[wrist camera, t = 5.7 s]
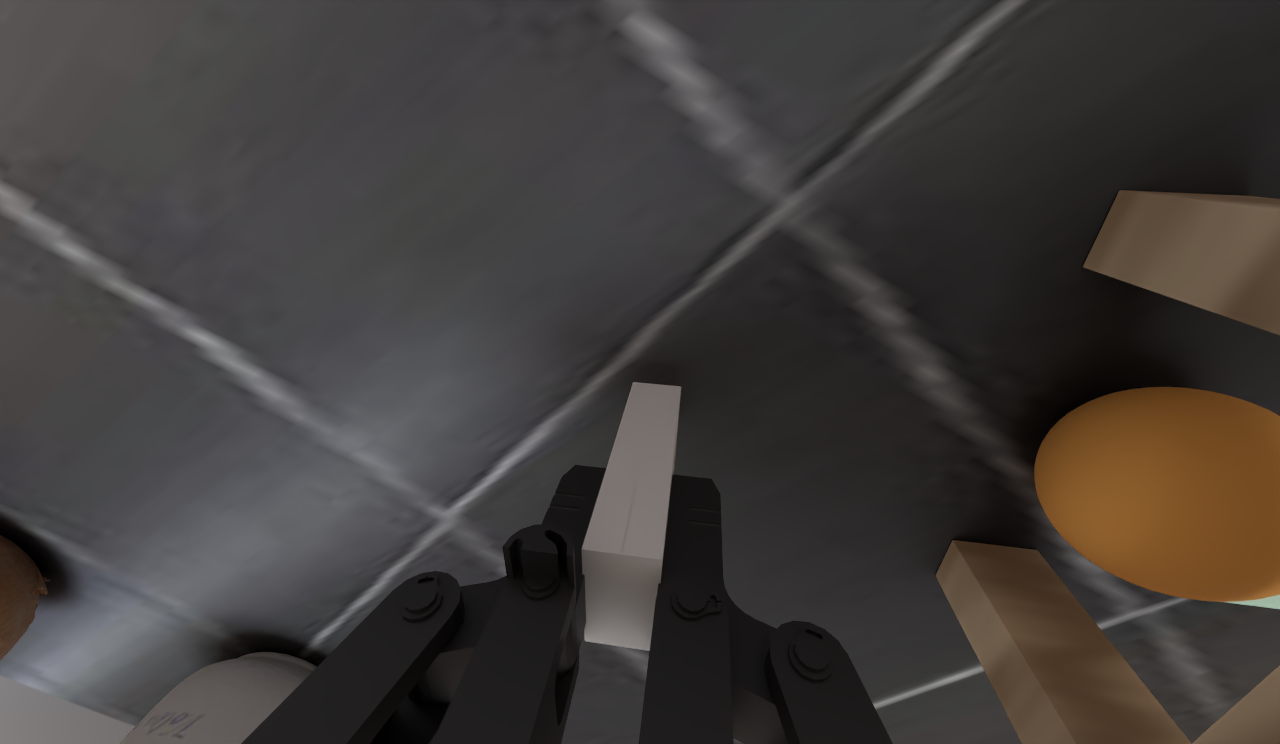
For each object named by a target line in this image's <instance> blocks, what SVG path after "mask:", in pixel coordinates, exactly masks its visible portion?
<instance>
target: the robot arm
mask: <svg viewBox="0 0 1280 744" xmlns="http://www.w3.org/2000/svg"><path fill="white" fill-rule="evenodd" d="M680 396H681V386H671V385H660V384H649V383H638V382H633V384H632V387H631V390H630V394H629V397H628V400H627V403H626V407H625V410H624V413H623V416H622V420H621V423H620V426H619V429H618V433H617V436H616V439H615V442H614V446H613V449H612V452H611V455H610V459H609V462H608V465H607V468H598V467H589V466H580V465H575V466H574V467H572V468H571V469H570V470H569V471H568V472H567V473H566V474H565V475H564V476H563V477H562V478H561V480H560V483H559V485H558V487H557V490H556V492H555V495H554V497H553V499H552V501H551V504H550V508H548V511H547V513H546V515H545V517H544V520H543V522H542V524H541V525H533V526H530V527H527V528H524V529H521V530H520V531H518V532H517V533H515V534H514V535H512V536H511V537H510V538H509V539H508V541H507V542H506V543H505V545H504V546H503V553H504V560H505V566H506V573H507V576H505V577H503V578H501V579H499V580H495V581H491V582H487V583H481V584H474V585H468V586H462V587H460V586H459V584H458V581H457V580H456V579H455V578H454V577H452V576H451V575H449V574H448V573H443V572H437V571H434V572H427V573H421V574H419V575H417V576H414V577H412V578H410V579H407V580H406V581H405V582H403V583H402V584H401V585H399V586H398V587H397V588H396V589H394V590H393V591H392V592H391V593H390V594H389V595H388V596H387V597H386V598H385V599H384V600H383V601H382V602H381V603H380V604H379V605H378V606H377V607H376V608H375V609H374V610H373V611H372V612H371V613H370V614H369V615H368V616H367V617H366V618H365V619H364V620H363V621H362V622H361V623H360V624H359V625H358V626H357V627H356V628H355V629H354V630H353V631H352V632H351V633H350V634H349V636H348V637H347V638H346V639H345V640H344V641H343V642H342V643H341V644H340V645H339V646H338V647H337V648H336V649H335V650H334V651H333V652H332V653H331V654H330V655H329V656H328V657H327V658H326V659H325V660H324V661H323V662H322V663H321V664H320V665H319V666H318V667H317V668H316V669H315V670H314V671H313V672H312V673H311V674H310V675H309V676H308V677H307V678H306V679H305V680H304V681H303V682H302V683H301V684H300V685H299V686H298V687H297V688H296V689H295V690H294V691H293V692H292V693H291V694H290V695H289V696H288V697H287V698H286V699H285V700H284V701H283V702H282V703H281V704H280V705H279V706H278V707H277V708H276V709H275V710H274V711H273V712H272V713H271V714H270V715H269V716H268V717H267V718H266V719H265V720H264V721H263V722H262V723H261V724H260V725H259V726H258V727H257V728H256V729H255V730H254V731H253V732H252V733H251V734H250V735H249V736H248V737H247V738H246V739H245V740H244V741H243V742H242V743H241V744H561V741H562V737H563V733H564V729H565V724H566V720H567V716H568V712H569V708H570V704H571V700H572V695H573V691H574V687H575V683H576V679H577V675H578V670H579V649H580V645H581V641H582V637H583V633H585V641H588V642H594V643H601V644H608V645H614V646H621V647H627V648H634V649H640V650H647V651H650V652H649V661H648V669H647V678H646V686H645V695H644V704H643V712H642V721H641V729H640V738H639V744H733V738H735V739H736V740H738V741H740V742H742V743H743V744H893V743H892V741H891V739H890V737H889V735H888V733H887V731H886V729H885V727H884V725H883V723H882V721H881V719H880V717H879V715H878V713H877V712H876V710H875V708H874V706H873V704H872V702H871V700H870V698H869V696H868V694H867V692H866V690H865V688H864V686H863V684H862V682H861V680H860V678H859V676H858V674H857V672H856V670H855V668H854V666H853V664H852V662H851V660H850V658H849V656H848V654H847V653H846V651H845V650H844V648H843V647H842V646H841V644H840V643H839V641H838V640H837V639H836V638H834V637H833V636H832V635H831V634H830V633H828V632H827V631H826V630H825V629H823V628H821V627H818V626H816V625H814V624H812V623H809V622H802V621H791V622H788V623H785V624H781V625H780V626H779V627H778V628H777V629H776V628H774V627H771V626H769V625H767V624H765V623H763V622H760V621H758V620H756V619H754V618H752V617H751V616H749V615H747V614H746V613H744V612H743V611H742V610H741V609H739V608H738V607H737V606H736V605H735V604H734V602H733V601H732V600H731V599H730V597H729V596H728V593H727V591H726V589H725V587H724V581H723V562H722V532H721V502H720V493H719V491H718V489H717V488H716V486H715V484H714V483H713V481H712V479H707V478H698V477H689V476H680V475H673V474H674V465H675V455H676V443H677V431H678V419H679V408H680Z"/></svg>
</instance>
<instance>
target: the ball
mask: <svg viewBox="0 0 1280 744" xmlns="http://www.w3.org/2000/svg"><path fill="white" fill-rule="evenodd" d="M1034 479H1035V486H1036V492H1037V495H1038V498H1039V501H1040V504H1041V506H1042V508H1043V510H1044V512H1045V514H1046V516H1047V518H1048V519H1049V521H1050V522H1051V523H1052V525H1053V526H1054V528H1055V529H1056V530H1057V531H1058V532H1059V534H1060V535H1061V536H1062V537H1063V538H1064V539H1065V540H1066V541H1067V542H1068V543H1069V544H1070V545H1071V546H1072V547H1073V548H1074V549H1075V550H1077V551H1078V552H1079V553H1080V554H1082V555H1083V556H1084V557H1085V558H1087V559H1088V560H1089V561H1091V562H1093V563H1094V564H1096V565H1097V566H1099V567H1100V568H1102V569H1104V570H1106V571H1108V572H1109V573H1111V574H1113V575H1115V576H1117V577H1119V578H1121V579H1124V580H1126V581H1128V582H1131V583H1133V584H1135V585H1138V586H1141V587H1144V588H1147V589H1149V590H1153V591H1156V592H1160V593H1163V594H1167V595H1172V596H1177V597H1181V598H1187V599H1195V600H1203V601H1218V602H1233V601H1249V600H1257V599H1263V598H1267V597H1272V596H1276V595H1280V416H1279V415H1277V414H1275V413H1273V412H1272V411H1270V410H1268V409H1265V408H1263V407H1261V406H1258V405H1256V404H1253V403H1251V402H1248V401H1245V400H1242V399H1239V398H1235V397H1232V396H1229V395H1225V394H1220V393H1216V392H1211V391H1206V390H1199V389H1191V388H1180V387H1147V388H1138V389H1129V390H1125V391H1120V392H1115V393H1111V394H1108V395H1105V396H1101V397H1098V398H1096V399H1094V400H1091V401H1089V402H1087V403H1085V404H1083V405H1081V406H1079V407H1077V408H1076V409H1074V410H1072V411H1071V412H1069V413H1068V414H1066V415H1065V416H1064V417H1063V418H1061V419H1060V420H1059V421H1058V422H1057V423H1056V424H1055V425H1054V426H1053V427H1052V428H1051V430H1050V431H1049V432H1048V434H1047V435H1046V437H1045V438H1044V440H1043V441H1042V443H1041V446H1040V448H1039V450H1038V453H1037V457H1036V461H1035V466H1034Z"/></svg>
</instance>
